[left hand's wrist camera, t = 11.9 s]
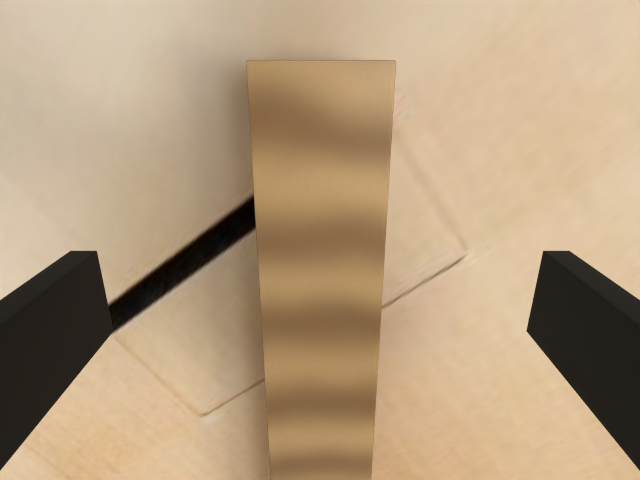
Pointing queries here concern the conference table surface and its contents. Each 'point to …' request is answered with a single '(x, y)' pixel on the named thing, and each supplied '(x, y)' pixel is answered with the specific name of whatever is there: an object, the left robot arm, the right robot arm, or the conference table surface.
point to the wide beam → (321, 256)
